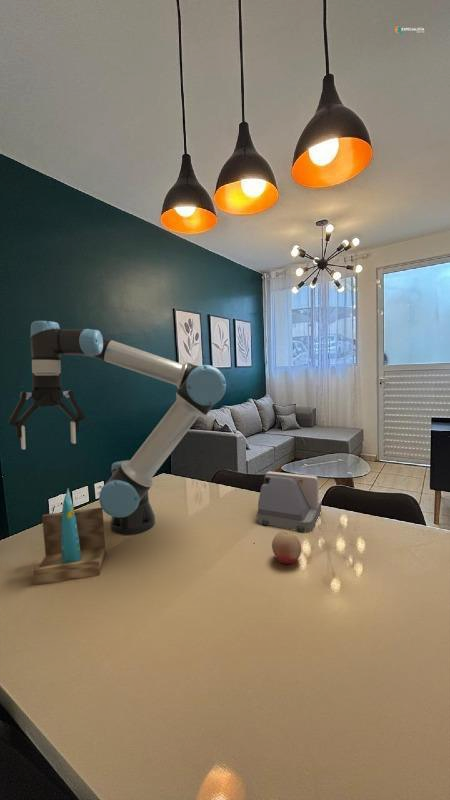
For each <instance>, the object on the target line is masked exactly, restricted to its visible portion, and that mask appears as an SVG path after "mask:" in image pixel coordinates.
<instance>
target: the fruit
mask: <svg viewBox="0 0 450 800" xmlns="http://www.w3.org/2000/svg"><path fill="white" fill-rule="evenodd" d="M271 550H272V553H273V554H274V556H275V558H276V559H277V560H278V561H279V562H281V563H282V564H285V565H290V564H293V563H296V561H297V560H298V559H299V557H300V556H301V552H302V545H301V542H300V539H299V537H298V536H297V535H296V534H294V533H290V532H288V531H285V530H284V531H278V532H277V533H276V534H275V535H274V537H273V539H272V542H271Z"/></svg>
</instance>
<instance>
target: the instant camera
mask: <svg viewBox="0 0 450 800" xmlns="http://www.w3.org/2000/svg"><path fill="white" fill-rule="evenodd" d="M257 509H258V510H257V511H256V523H257V524H259V523H260V524H259V525H263V524H265V525H264V526H268V525H271V526H270V527H274V526H276V527H275V528H279V527H282V528H281V529H285V528H288V529H287V530H290V529H295V530H294V531H296V530H299V531H298V532H301V531H310V530H312V529H313V530H314V528H315V526H316V524H317V523H316V521H317V519H318V517H319V515H320V512H321V513H322V500H321V499H320V498H319V478H318V476H316V475H309V474H307V475H306V474H297V473H290V472H289V473H288V472H287V473H286V472H278V471H270V470H269V471H267V472H266V473H265V474H264V477H263V484H262V485H261V487H260V492H259V497H258V502H257ZM320 516H321V515H320ZM319 518H320V517H319ZM318 520H319V519H318ZM317 522H318V521H317ZM315 523H316V524H315ZM314 525H315V526H314ZM313 527H314V528H313ZM313 530H312V531H313Z"/></svg>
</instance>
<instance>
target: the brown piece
mask: <svg viewBox="0 0 450 800" xmlns="http://www.w3.org/2000/svg"><path fill="white" fill-rule="evenodd" d="M74 512H75V518H76V523H77V529H78V536H79V543H80V551H81V559H80V560H79V561H77V562H72V563H65V564H64V563H62V541H61V530H62V511H61V512H53V513H46V514H43V515H42V516H41V520H42V529H43V532H42V533H43V541H44V552H45V556H44V558H43V559H42V561H41V563H40V564H39V565H38V567H34V568H33V569H32V574H33V585H34V586H37V585H42V584H49V583H50V584H51V583H56V582H63V581H69V580H75V579H81V578H87V577H88V578H89V577H94V576H100V575H101V571H102V568H103V564H104V561H105V557H106V554H107V551H106V550H107V549H106V539H105V538H106V537H105V527H104V524H105V523H104V514H103V512H104V510H103V509H102V507H97V508H96V507H95V508H89V509H88V508H87V509H79V510H74Z"/></svg>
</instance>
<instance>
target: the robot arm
mask: <svg viewBox="0 0 450 800" xmlns="http://www.w3.org/2000/svg"><path fill="white" fill-rule="evenodd" d="M29 337H30V349H31V373H32V374H34V375H32V378H31V379H32V380H31V381H32V391H31V392H30V391H29V392H27V391H21V392H20V394H19V400H18V402H17V404H16V406H15V408H14V410H13V411H12V414H11V415H10V417H9V420H8V422H7V423H8V425H11V426H14V427H15V433H16V437H17V438H18V439H20V446H21V450H26V449H27V448H26V427H25V426H24V423H25V422H26V421H27V420H28V419H29V417H31V415H32V414H34V412H35V410H37V409H38V408H39V407H48V406H49V407H55V406H58V408H60V409H61V410H62V411H63V412H64V413H65V414H66V415H67V417H69V418H70V419H71V420H72V421H70V443H72V444H73V445H74V444H77V436H76V434H77V433H79V431H80V425H79V424H80V422H81V421H83V420H85V418H86V417H85V414H84V413H83V410H81V408H80V406H79V404H78V403H77V401H76V399H75V397H74V391H73V390H69V389H68V390H67V391H63V390H62V376H60V375H59V374H61V373H62V372H61V371H62V369H61V368H62V367H61V366H62V365H61V356H63V355H69V356H70V355H71V356H73V355H74V356H84V357H90V358H94V359H97V360H100V361H102V362H106V363H109V364H112V365H115V366H118V367H120V368H124V369H127V370H130V371H133V372H136V373H139V374H141V375H144V376H148V377H151V378H153V379H156V380H159V381H162V382H165V383H168V384H172V385H174V386H176V387H177V391H176V393H175V396H176V400H175V401H174V403H173V404H172V405H171V407H170V408H169V409H168V410H167V412H166V413H165V414H164V416H163V417H162V418H161V419H160V421H159V422H158V424H157V425H156V426H155V427H154V429H153V430H152V431H151V433H150V434H149V435H148V437H146V439H145V441H144V442H143V443H142V444H141V446H140V447H139V448H138V449H137V451H136V452H135V453H134V455H133V456H132V457H131V459H126V460H120V461H119V460H118V461H116V462H113V463H112V464H111V470H110V471H111V474H112V475H111V476H110V477H109V479H108V480H107V481H106V482H105V484H104V485H103V486H102V487H101V489H100V492H99V495H98V501H99V504H100V508H102V511H103V512H104V513H106V514H107V515H109V516H110V517H111V519H110V531H111V532H113V534H116V535H123V536H125V535H126V536H128V535H137V534H139V533H142V532H146V531H148V530H149V529H151V528H153V526H155V524H156V515H155V513H154V510H153V507H152V505H151V504H150V501H149V499H150V497H149V491H150V489H151V488H152V487H153V484H154V483H153V477H154V475H155V474H156V473H157V471H159V469H160V468H161V467H162V466H163V464H164V462H165V461H166V460H167V459H168V458H169V456H170V455H171V453H172V452H173V451H174V450H175V448H176V447H177V446H178V444H179V443H180V442H181V441H182V440H183V438H184V436H185V435H186V434H187V433H188V432H189V430H190V429H191V427H192V426H193V425H194V423H195V422H196V421H197V420H198V418H200V417H206V416H207V415H208V413H209V412H210V411H211V409H212V408H213V407H214V406H215V404H217V403H218V402H219V401H221V400H222V398H223V397H224V396H225V393H226V389H227V381H226V378H225V375H224V374H223V372H222V371H220V369H218V368H217V367H215V366H214V365H210V364H202V365H197V364H196V365H195V364H193V363H189V362H186V363H180V362H177V361H174V360H172V359H168V358H165V357H162V356H159V355H156V354H153V353H151V352H148V351H144V350H141V349H139V348H136V347H133V346H129V345H127V344H124V343H122V342H118V341H116V340H112V339H109V338H106V337H103V335H102V333H101V331H100V330H99V329H91V328H83V329H82V328H81V329H78V328H77V329H76V328H72V329H71V328H70V329H69V328H61V327H60V324H59V323H58V322H56V321H51V320H49V321H48V320H34V321H33V322H32V323H31V324H30V335H29ZM63 396H64V397H65V398H67V399H68V401H69V403H70V405H71V407H72V409H74V412H75V413H76V415H77V416H76V415H75V414H74V413H73V412H72V411H71V410H70V409H69V408H68V407H67V405H65V403H63V402H62V400H61V399H62V398H63ZM30 397H31V398H32V399H33V400H34V401H33V402H32V404H31V405H30V406H29V407H28V408H27V410H26V411H25V412H24V413H23V414H22V415H21V416H20V417H19V415H20V413H21V411H22V409H23V407H24V405H25V404H26V401H27V400H29V399H30ZM18 417H19V419H18V420H17V418H18Z"/></svg>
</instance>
